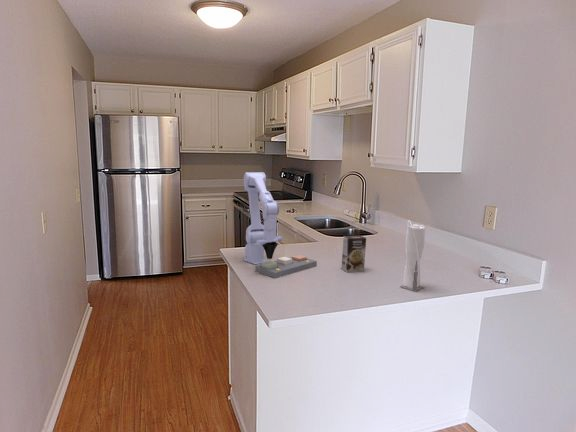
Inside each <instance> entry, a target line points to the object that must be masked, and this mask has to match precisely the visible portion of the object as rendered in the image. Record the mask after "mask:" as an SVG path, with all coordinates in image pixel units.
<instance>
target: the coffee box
mask: <svg viewBox="0 0 576 432" xmlns="http://www.w3.org/2000/svg"><path fill="white" fill-rule="evenodd" d="M342 239H343V241H342V256H341V269H342V270H343V271H344V272H345V273H357V272H358V273H359V272H365V264H366V263H365V262H366V249H367V248H366V247H367V238H366V237H365V236H363V235H343V238H342Z"/></svg>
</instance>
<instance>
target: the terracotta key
mask: <svg viewBox="0 0 576 432" xmlns="http://www.w3.org/2000/svg"><path fill="white" fill-rule="evenodd" d="M291 257H292V260H296V261H299V262H300V261H304V260H306V258H307V256H304V255H301V254H297V255H293V256H291Z"/></svg>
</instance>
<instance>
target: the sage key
mask: <svg viewBox="0 0 576 432" xmlns="http://www.w3.org/2000/svg"><path fill="white" fill-rule="evenodd" d="M260 265H261V267H262V268H265V269H268V270H271V269H274V268H277V263H276V262H274V261H272V260H271V259H268V260H267V261H265V262H262V263H260Z"/></svg>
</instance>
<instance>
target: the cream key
mask: <svg viewBox="0 0 576 432" xmlns="http://www.w3.org/2000/svg"><path fill="white" fill-rule="evenodd" d="M276 261H277V263H278V264H281V265H284V266H285V265H289V264H292V259H291V258H289V257H287V256H282V257H278V258H277V259H276Z"/></svg>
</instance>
